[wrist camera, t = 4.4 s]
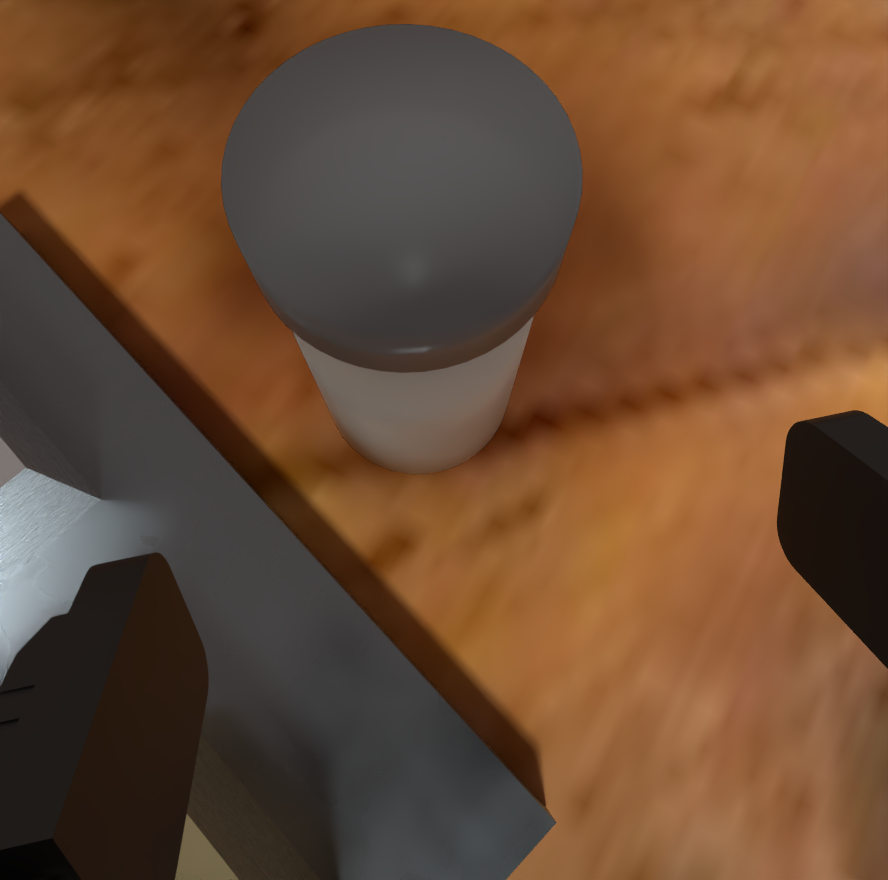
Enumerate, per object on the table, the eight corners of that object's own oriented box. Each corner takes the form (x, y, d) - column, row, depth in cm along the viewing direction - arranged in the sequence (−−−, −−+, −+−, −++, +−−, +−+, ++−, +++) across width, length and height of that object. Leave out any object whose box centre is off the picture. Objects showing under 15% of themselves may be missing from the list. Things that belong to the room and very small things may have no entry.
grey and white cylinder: (280, 383, 21) (147, 163, 11) (421, 262, 22) (409, -30, 12) (414, 522, 20) (393, 409, 10) (556, 388, 21) (656, 172, 11)
